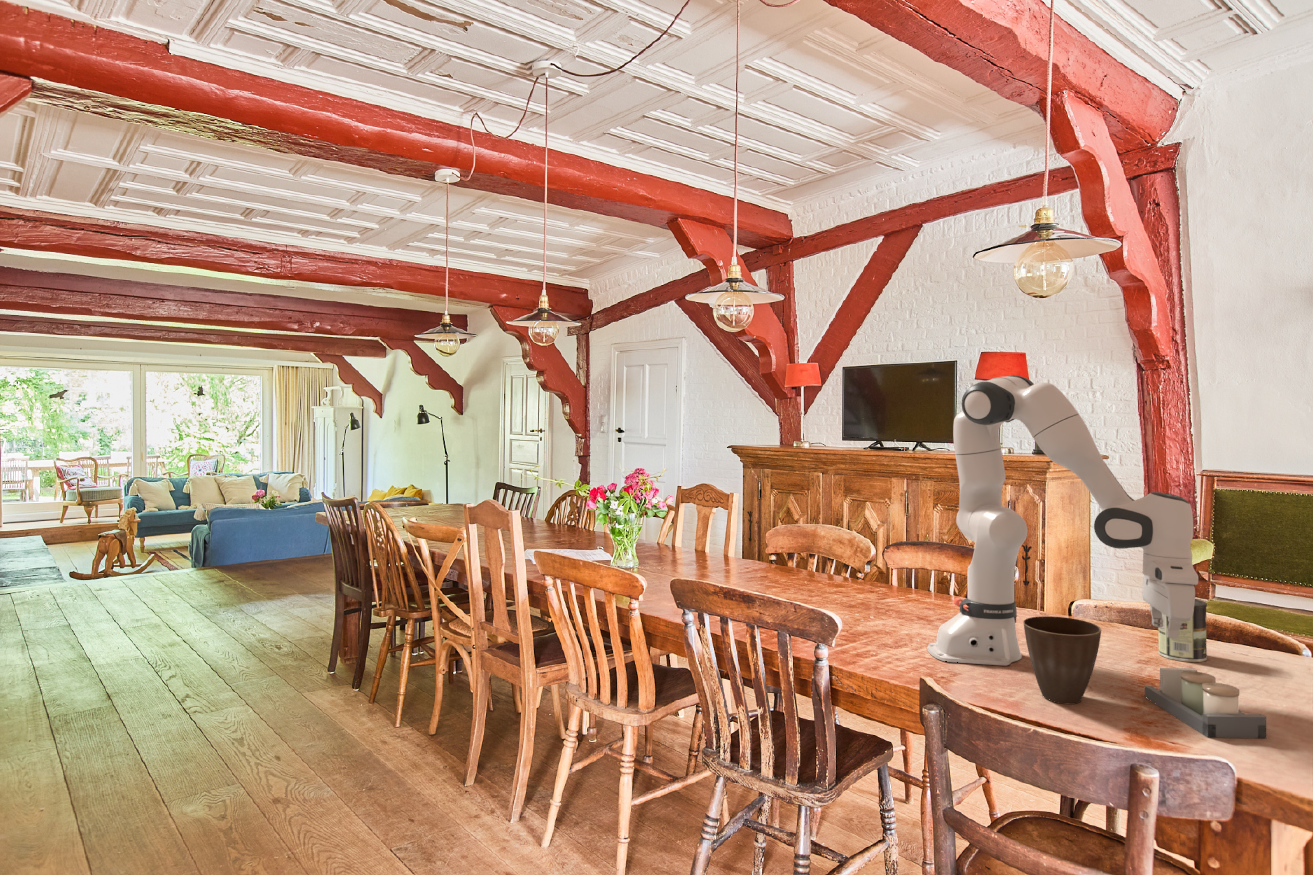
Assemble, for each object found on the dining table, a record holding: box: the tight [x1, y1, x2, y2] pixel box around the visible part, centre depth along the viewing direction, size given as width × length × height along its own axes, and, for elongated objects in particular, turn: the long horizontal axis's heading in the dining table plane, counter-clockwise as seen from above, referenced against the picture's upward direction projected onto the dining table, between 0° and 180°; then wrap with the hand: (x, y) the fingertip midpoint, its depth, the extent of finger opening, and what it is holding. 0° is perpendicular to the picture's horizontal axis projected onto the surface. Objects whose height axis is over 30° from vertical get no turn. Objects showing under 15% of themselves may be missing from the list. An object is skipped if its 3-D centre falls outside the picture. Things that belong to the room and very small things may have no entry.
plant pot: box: [1023, 615, 1102, 704], centre depth 165 cm, size 15×15×16 cm
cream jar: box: [1202, 682, 1240, 714], centre depth 148 cm, size 6×6×8 cm
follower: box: [1159, 667, 1198, 704], centre depth 162 cm, size 7×4×7 cm, turn 86°
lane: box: [1144, 685, 1267, 739], centre depth 154 cm, size 10×21×4 cm, turn 176°
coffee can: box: [1157, 598, 1208, 663], centre depth 192 cm, size 10×10×14 cm
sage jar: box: [1181, 671, 1217, 716], centre depth 155 cm, size 6×6×8 cm
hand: (1164, 631), depth 164 cm, fingers open, 8 cm apart
